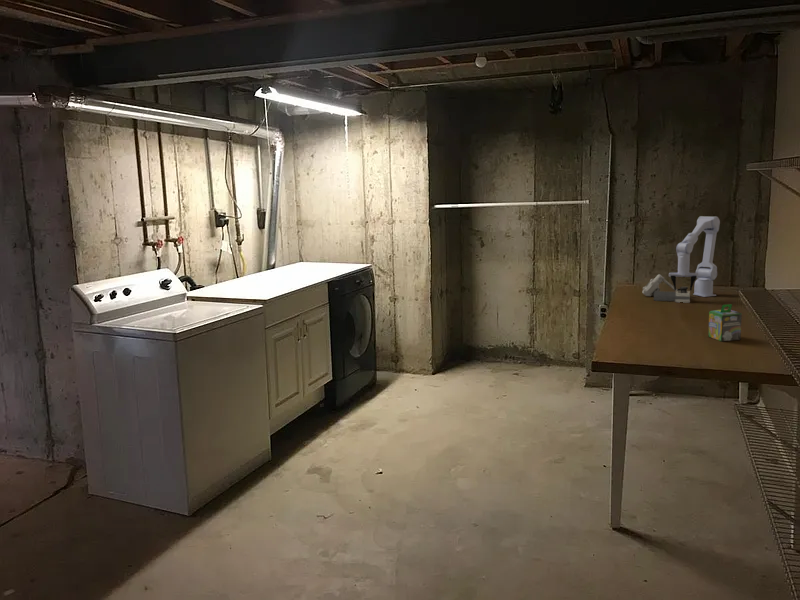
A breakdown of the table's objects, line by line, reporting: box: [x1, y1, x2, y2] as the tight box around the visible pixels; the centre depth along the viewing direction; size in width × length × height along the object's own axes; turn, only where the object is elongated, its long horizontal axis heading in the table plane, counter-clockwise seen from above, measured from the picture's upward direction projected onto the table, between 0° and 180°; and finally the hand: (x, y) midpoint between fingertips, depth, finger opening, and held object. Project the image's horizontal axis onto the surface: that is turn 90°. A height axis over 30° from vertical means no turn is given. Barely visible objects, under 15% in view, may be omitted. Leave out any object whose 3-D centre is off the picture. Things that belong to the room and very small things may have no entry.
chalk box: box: [708, 303, 743, 342], centre depth 267 cm, size 9×9×15 cm
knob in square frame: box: [653, 290, 691, 304], centre depth 352 cm, size 18×18×5 cm
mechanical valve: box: [641, 273, 681, 297], centre depth 363 cm, size 10×18×15 cm
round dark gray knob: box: [679, 286, 689, 293], centre depth 344 cm, size 4×4×8 cm
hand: (682, 290), depth 344 cm, fingers open, 7 cm apart
